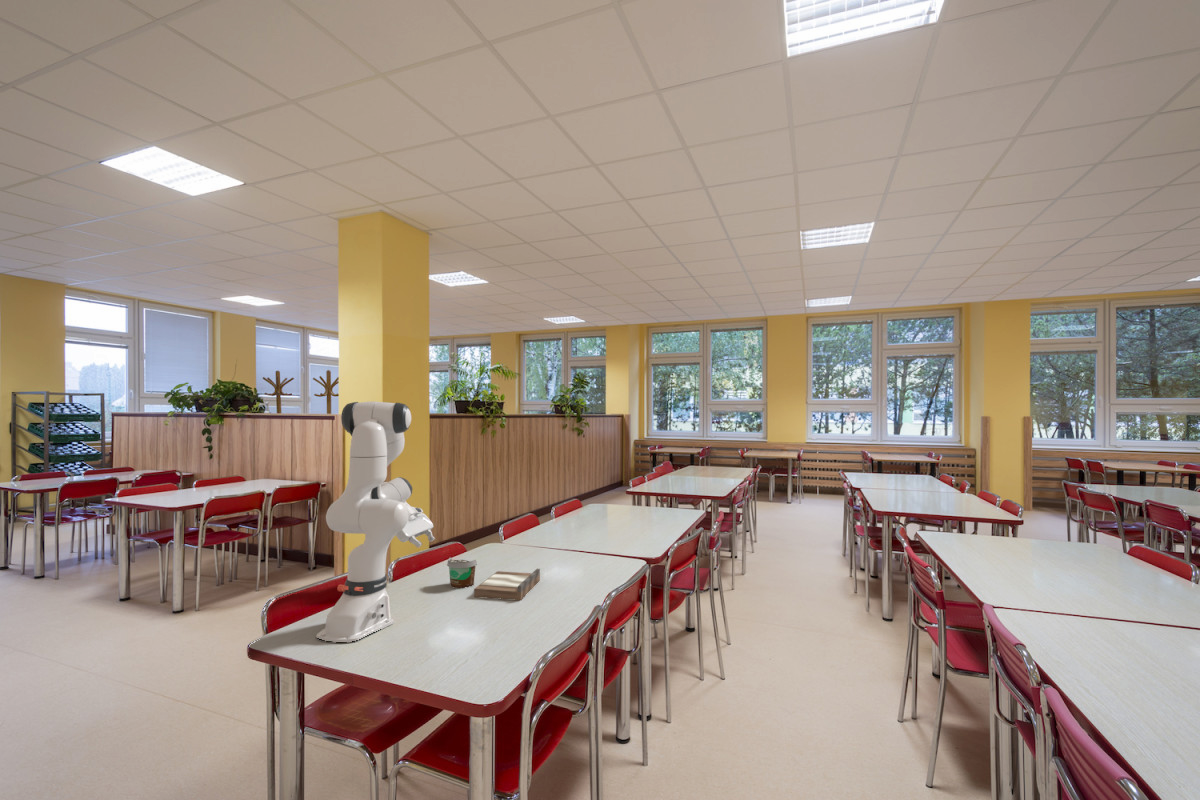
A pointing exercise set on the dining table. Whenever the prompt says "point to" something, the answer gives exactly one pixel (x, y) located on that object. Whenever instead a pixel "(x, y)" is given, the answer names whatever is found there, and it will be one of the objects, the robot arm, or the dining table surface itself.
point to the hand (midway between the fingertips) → (426, 543)
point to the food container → (461, 573)
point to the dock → (508, 585)
